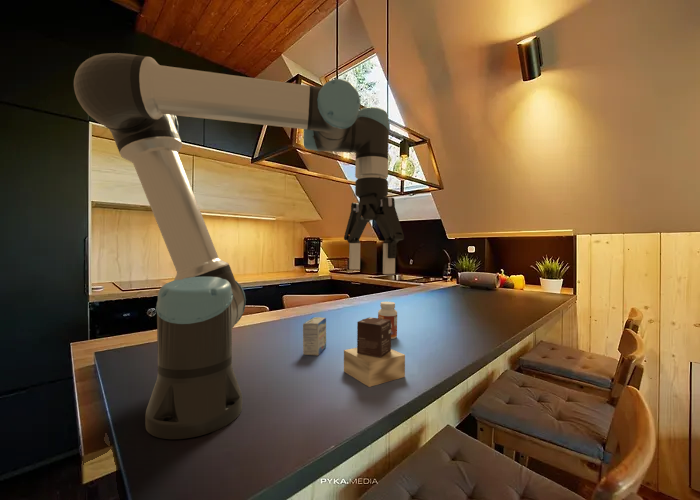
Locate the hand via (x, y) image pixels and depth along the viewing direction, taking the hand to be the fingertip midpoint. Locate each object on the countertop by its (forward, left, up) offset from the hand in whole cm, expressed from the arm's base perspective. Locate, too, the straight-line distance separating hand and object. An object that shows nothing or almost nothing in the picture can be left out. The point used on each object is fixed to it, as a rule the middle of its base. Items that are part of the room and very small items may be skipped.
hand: (370, 271), depth 76 cm
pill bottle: (+22, +21, -24) cm, 39 cm away
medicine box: (-4, +21, -24) cm, 32 cm away
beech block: (0, -1, -23) cm, 24 cm away
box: (0, -1, -19) cm, 19 cm away
